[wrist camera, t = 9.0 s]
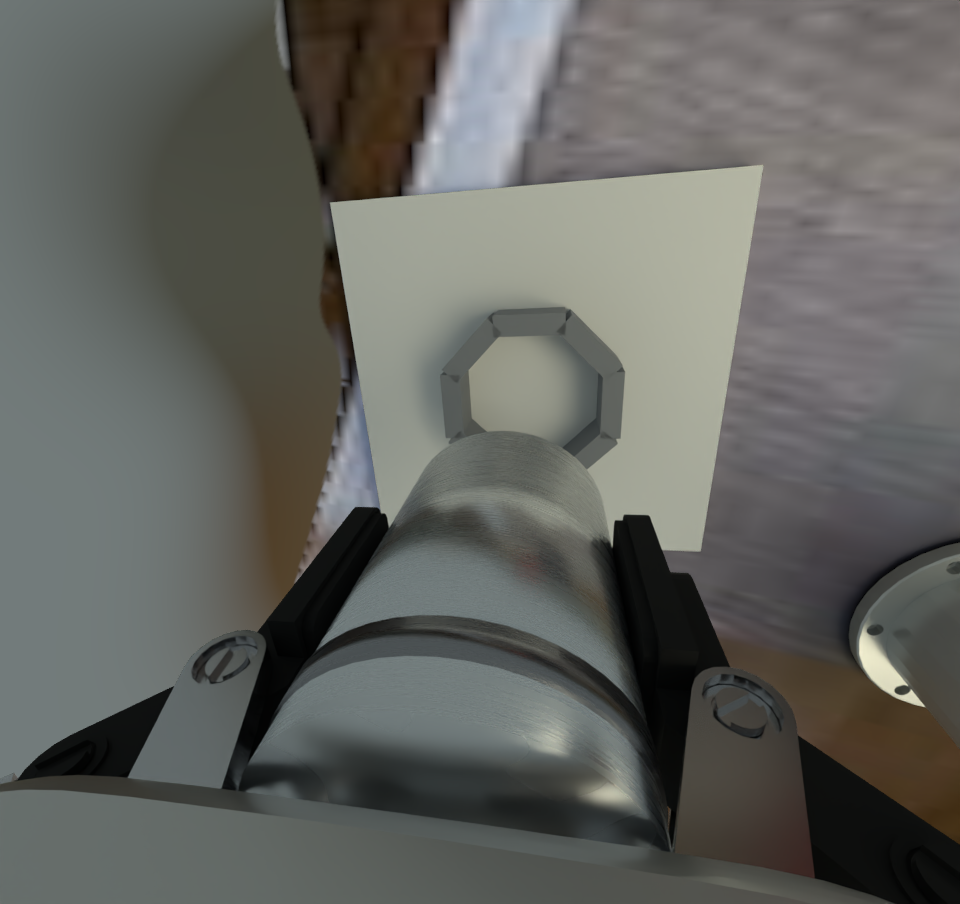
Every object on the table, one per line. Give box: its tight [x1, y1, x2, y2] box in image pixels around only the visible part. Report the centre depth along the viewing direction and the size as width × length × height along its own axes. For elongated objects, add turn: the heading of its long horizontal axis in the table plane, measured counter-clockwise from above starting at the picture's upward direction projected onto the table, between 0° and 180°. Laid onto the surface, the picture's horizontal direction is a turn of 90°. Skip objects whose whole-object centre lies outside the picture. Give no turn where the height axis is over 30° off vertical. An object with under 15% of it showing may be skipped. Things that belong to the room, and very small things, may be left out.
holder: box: [330, 165, 763, 552], centre depth 24 cm, size 20×20×4 cm
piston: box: [238, 431, 672, 852], centre depth 9 cm, size 6×6×8 cm
